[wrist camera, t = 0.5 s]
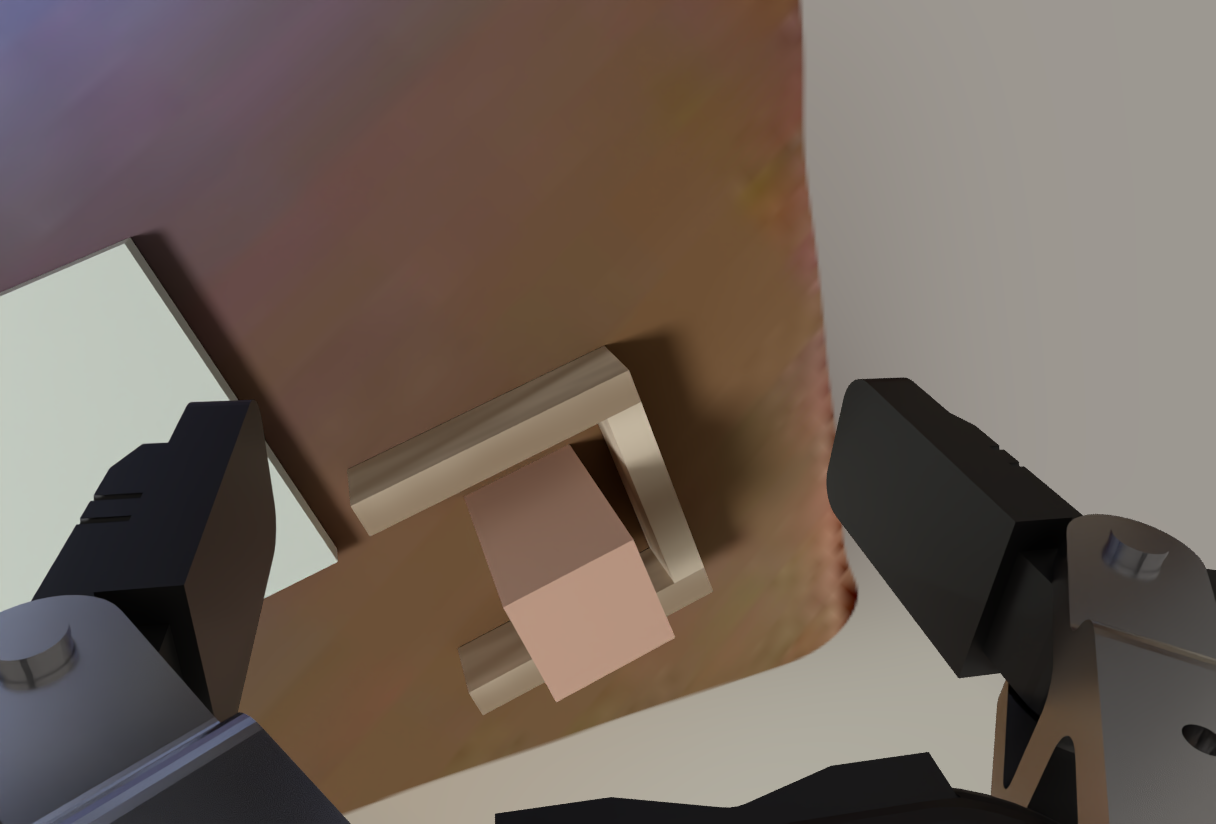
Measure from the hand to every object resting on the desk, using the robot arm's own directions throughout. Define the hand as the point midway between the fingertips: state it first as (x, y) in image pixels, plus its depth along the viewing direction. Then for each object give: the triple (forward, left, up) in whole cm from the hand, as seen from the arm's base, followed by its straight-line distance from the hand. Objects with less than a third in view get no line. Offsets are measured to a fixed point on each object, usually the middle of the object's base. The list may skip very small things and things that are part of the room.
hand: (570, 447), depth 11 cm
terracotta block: (+14, -1, -21) cm, 26 cm away
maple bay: (+14, -1, -21) cm, 26 cm away
